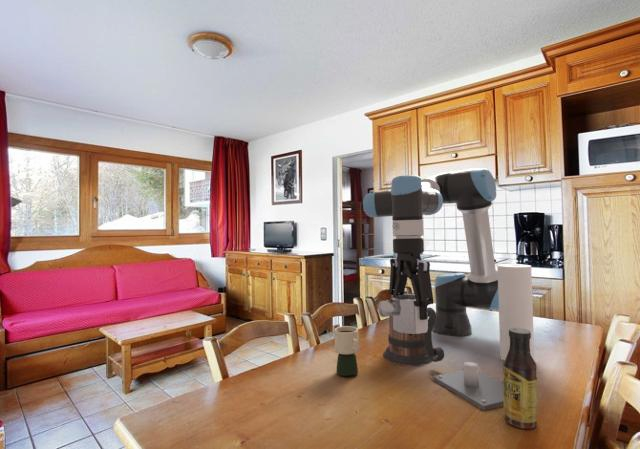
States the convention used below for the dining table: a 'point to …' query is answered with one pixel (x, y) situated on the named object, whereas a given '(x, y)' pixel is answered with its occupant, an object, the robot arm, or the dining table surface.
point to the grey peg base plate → (473, 386)
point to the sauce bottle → (520, 381)
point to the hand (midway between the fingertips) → (410, 327)
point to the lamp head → (401, 312)
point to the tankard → (413, 345)
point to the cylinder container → (514, 303)
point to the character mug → (346, 349)
